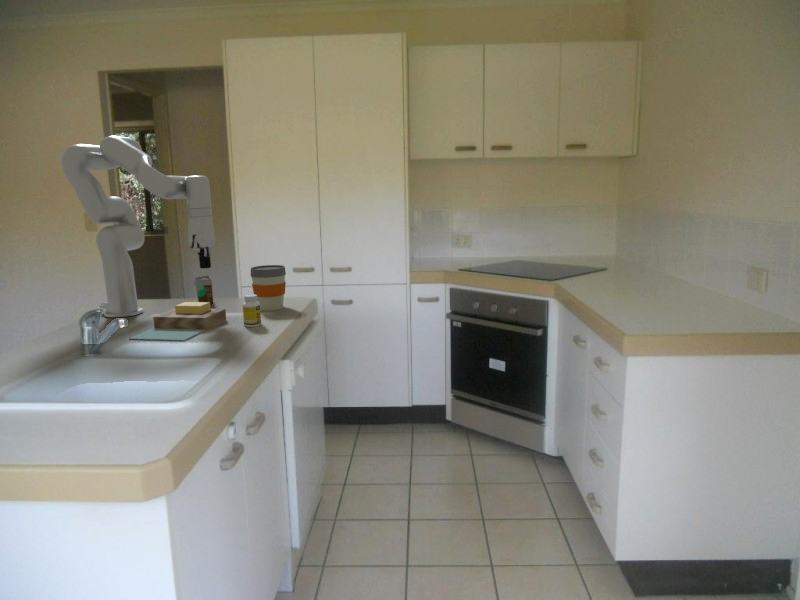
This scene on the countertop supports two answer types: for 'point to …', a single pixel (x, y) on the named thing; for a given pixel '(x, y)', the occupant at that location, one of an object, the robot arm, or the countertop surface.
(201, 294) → the food container
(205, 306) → the yellow sponge
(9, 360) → the countertop surface
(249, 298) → the supplement bottle
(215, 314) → the brown wooden block
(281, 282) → the reusable coffee cup
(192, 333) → the mat
